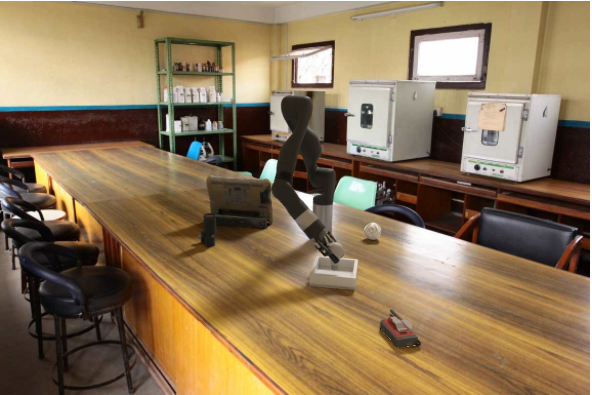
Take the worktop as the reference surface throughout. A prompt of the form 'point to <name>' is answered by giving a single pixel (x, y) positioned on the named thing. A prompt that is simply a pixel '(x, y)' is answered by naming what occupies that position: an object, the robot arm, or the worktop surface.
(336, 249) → the lightbulb
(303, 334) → the worktop surface
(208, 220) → the scope
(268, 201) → the tablet
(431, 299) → the worktop surface
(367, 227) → the white textured ball
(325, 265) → the tray
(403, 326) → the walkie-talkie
